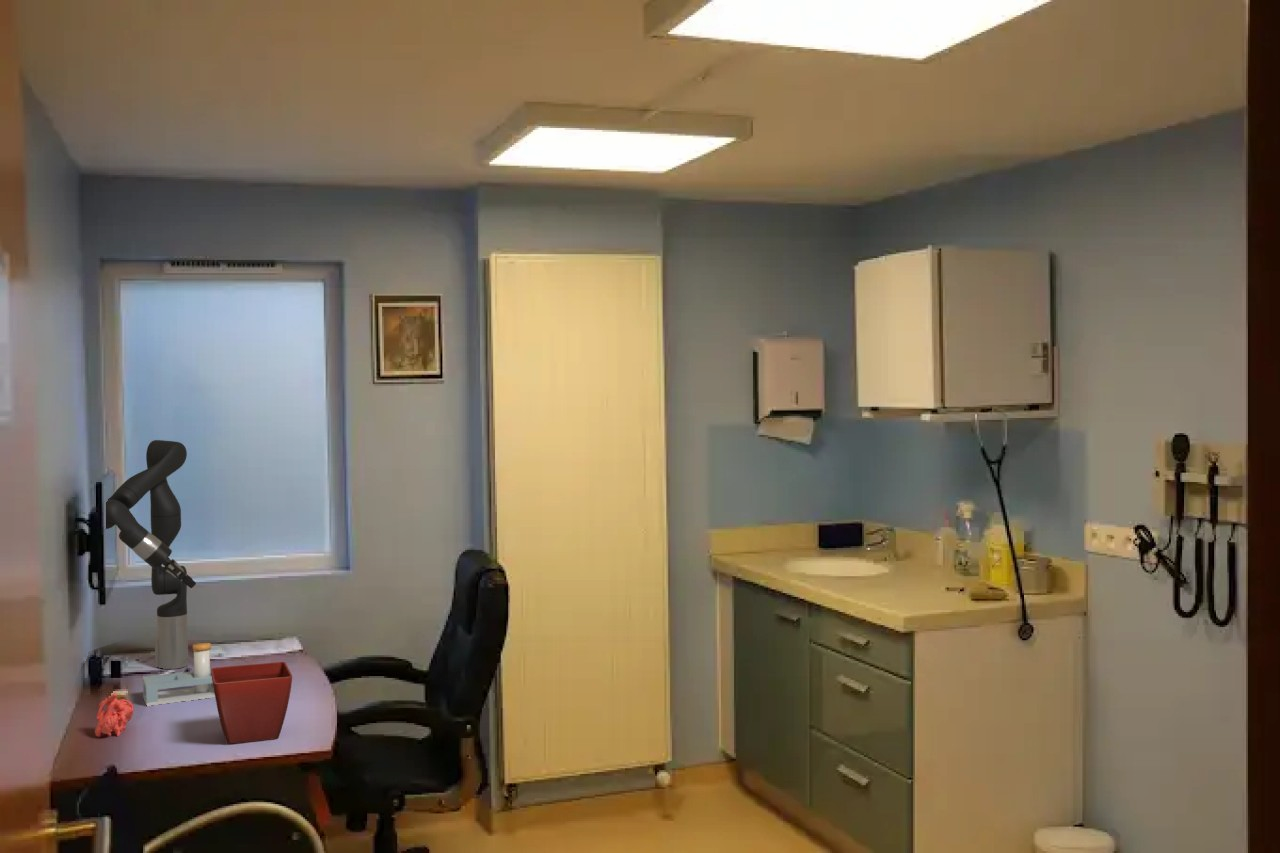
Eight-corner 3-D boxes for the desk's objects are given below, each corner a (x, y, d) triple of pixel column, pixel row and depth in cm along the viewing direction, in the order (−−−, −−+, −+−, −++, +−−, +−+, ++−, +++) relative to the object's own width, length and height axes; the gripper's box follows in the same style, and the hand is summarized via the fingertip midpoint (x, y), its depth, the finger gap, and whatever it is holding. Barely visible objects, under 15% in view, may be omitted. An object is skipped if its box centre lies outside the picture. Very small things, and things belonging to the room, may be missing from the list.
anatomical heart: (129, 732, 312) (140, 689, 312) (122, 745, 300) (134, 701, 301) (94, 726, 310) (106, 683, 310) (86, 739, 298) (98, 695, 298)
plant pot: (286, 721, 315) (285, 660, 314) (294, 740, 297) (292, 675, 297) (211, 730, 308) (210, 667, 307) (215, 750, 290) (213, 683, 289)
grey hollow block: (146, 706, 332) (146, 685, 332) (143, 696, 342) (142, 676, 342) (227, 696, 342) (226, 676, 342) (221, 687, 353) (220, 668, 353)
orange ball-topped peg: (189, 692, 343) (189, 645, 343) (199, 688, 348) (199, 642, 347) (204, 693, 342) (204, 646, 341) (214, 689, 346) (214, 643, 346)
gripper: (163, 543, 349) (204, 577, 354) (158, 538, 361) (198, 571, 367) (144, 562, 346) (186, 596, 352) (140, 556, 359) (180, 589, 365)
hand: (192, 583), depth 360 cm, fingers open, 8 cm apart
